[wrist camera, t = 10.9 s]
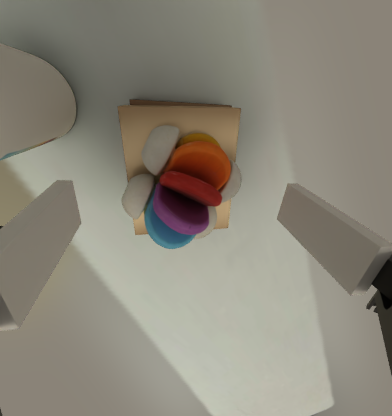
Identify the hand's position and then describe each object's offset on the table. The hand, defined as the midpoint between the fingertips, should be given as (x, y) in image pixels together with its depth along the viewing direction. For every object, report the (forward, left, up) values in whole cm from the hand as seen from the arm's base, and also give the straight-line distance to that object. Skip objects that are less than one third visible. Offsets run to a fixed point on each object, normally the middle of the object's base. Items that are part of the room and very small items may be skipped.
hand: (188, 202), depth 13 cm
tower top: (+1, 0, -11) cm, 11 cm away
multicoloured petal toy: (+1, 0, -7) cm, 7 cm away
